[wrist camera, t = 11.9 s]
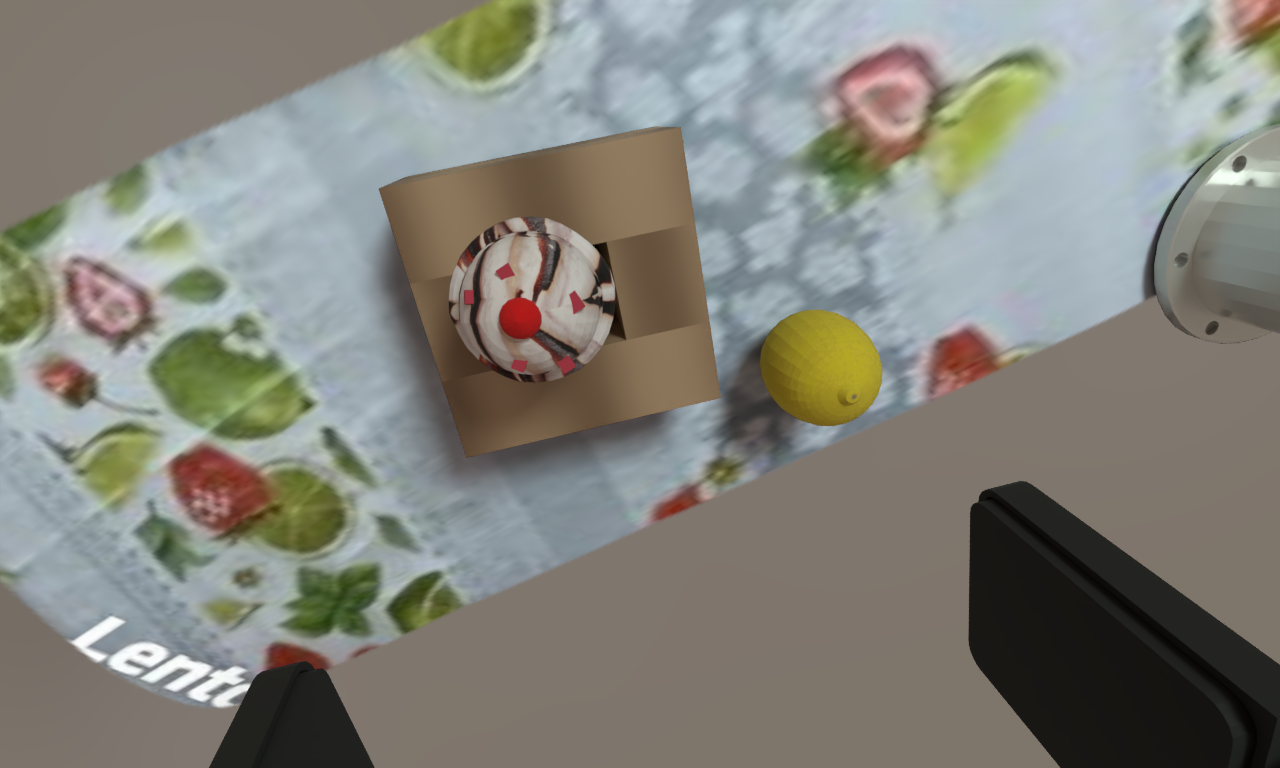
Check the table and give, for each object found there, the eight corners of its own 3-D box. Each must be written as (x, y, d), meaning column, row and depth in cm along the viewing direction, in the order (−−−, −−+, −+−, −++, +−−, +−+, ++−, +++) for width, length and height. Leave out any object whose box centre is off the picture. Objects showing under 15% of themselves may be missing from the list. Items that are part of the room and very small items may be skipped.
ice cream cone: (482, 254, 33) (376, 290, 19) (576, 191, 33) (541, 176, 18) (547, 348, 35) (494, 448, 20) (639, 288, 34) (653, 348, 19)
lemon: (779, 406, 38) (838, 473, 31) (722, 340, 36) (771, 396, 29) (854, 343, 38) (933, 397, 30) (800, 273, 36) (870, 312, 28)
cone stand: (654, 126, 32) (680, 127, 26) (691, 356, 36) (720, 397, 31) (405, 177, 31) (378, 188, 25) (476, 405, 36) (466, 457, 30)
